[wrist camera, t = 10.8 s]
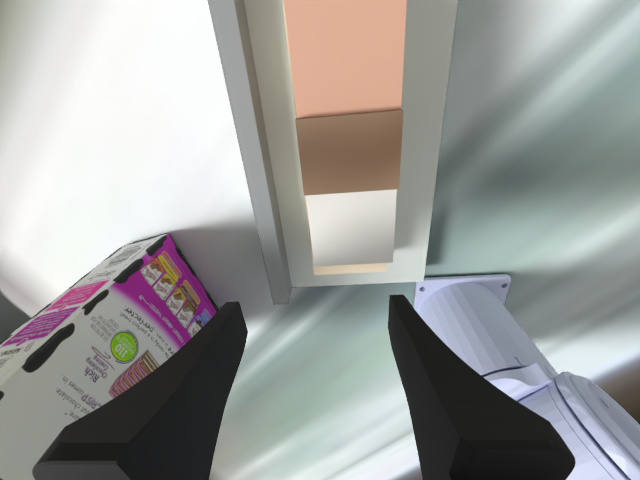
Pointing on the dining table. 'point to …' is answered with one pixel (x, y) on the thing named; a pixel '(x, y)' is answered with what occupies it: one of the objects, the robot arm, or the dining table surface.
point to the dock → (282, 145)
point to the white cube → (352, 227)
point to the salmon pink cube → (346, 55)
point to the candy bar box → (94, 345)
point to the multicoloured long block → (349, 159)
